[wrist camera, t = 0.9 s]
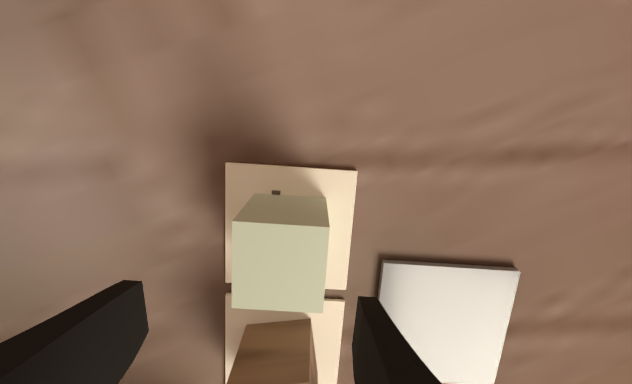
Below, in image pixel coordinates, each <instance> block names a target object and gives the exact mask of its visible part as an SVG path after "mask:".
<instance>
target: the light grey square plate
mask: <svg viewBox="0 0 632 384" xmlns="http://www.w3.org/2000/svg"><path fill="white" fill-rule="evenodd" d="M520 272H521V271H519V270H518V269H517V268H512V267H496V266H480V265H464V264H448V263H431V262H415V261H399V260H383V259H382V265H381V273H380V281H379V289H378V297H377V299H378V300H379V301H380V302H381V304H382V306H383V307H384V309H385V310H386V312H387V313H388V315H389V316H390V318H391V319H392V321H393V322H394V324H395V325H396V327H397V328H398V329H399V331H400V332H401V334H402V335H403V336H404V338H405V339H406V340H407V342H408V343H409V344H410V346H411V347H412V348H413V350H414V351H415V352H416V353H417V355H418V356H419V357H420V359H421V360H422V361H423V362H424V363H425V365H426V366H427V367H428V368H429V369H430V371H431V372H432V373H433V374H434V375H435V376H436V378H437V379H438V380H439V381H440V382H441V383H458V384H494V382H495V378H496V373H497V369H498V365H499V361H500V356H501V352H502V348H503V344H504V340H505V335H506V331H507V327H508V323H509V318H510V314H511V310H512V306H513V302H514V297H515V293H516V289H517V285H518V281H519V276H520Z"/></svg>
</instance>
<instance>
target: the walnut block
mask: <svg viewBox="0 0 632 384" xmlns="http://www.w3.org/2000/svg"><path fill="white" fill-rule="evenodd" d="M227 384H318V371H317V363H316V355H315V348H314V340H313V332H312V324H311V319H300V320H290V321H279V322H269V323H258V324H248V325H246V327H245V330H244V333H243V336H242V339H241V342H240V345H239V348H238V351H237V354H236V357H235V360H234V363H233V366H232V369H231V372H230V375H229V378H228V381H227Z"/></svg>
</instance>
